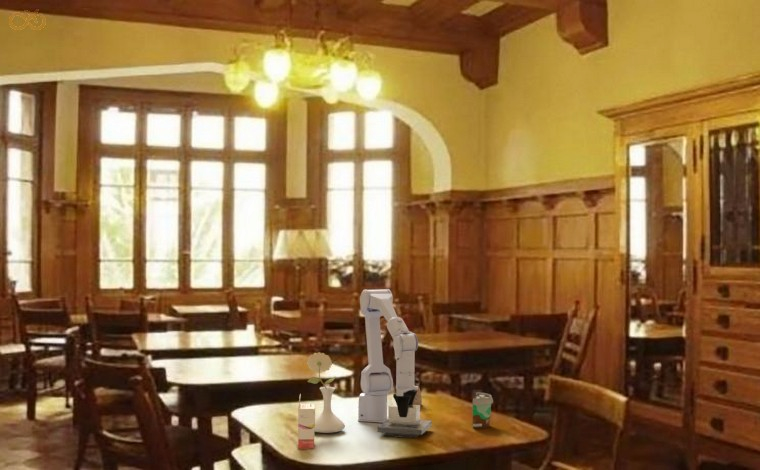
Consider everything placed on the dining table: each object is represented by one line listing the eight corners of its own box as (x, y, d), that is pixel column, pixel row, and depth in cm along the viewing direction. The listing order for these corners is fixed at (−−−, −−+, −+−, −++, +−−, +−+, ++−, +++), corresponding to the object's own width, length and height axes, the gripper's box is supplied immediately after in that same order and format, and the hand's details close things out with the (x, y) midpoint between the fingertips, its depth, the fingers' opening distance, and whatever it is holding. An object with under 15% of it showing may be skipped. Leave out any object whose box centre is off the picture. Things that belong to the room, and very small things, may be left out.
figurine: (401, 403, 316) (401, 370, 316) (420, 402, 317) (420, 370, 317) (403, 406, 309) (404, 373, 309) (423, 406, 310) (423, 373, 310)
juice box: (315, 449, 246) (315, 398, 246) (297, 449, 245) (298, 398, 245) (314, 442, 254) (315, 393, 254) (298, 442, 254) (298, 393, 254)
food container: (491, 430, 271) (491, 399, 271) (472, 429, 272) (472, 398, 272) (494, 422, 283) (494, 392, 283) (475, 421, 284) (476, 391, 284)
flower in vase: (350, 429, 272) (350, 351, 272) (337, 437, 261) (337, 355, 261) (313, 426, 276) (313, 349, 276) (298, 433, 265) (298, 353, 265)
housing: (416, 424, 263) (416, 405, 263) (387, 422, 265) (388, 404, 265) (420, 421, 268) (420, 402, 268) (392, 419, 270) (392, 401, 270)
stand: (377, 436, 261) (377, 427, 262) (389, 427, 275) (389, 417, 275) (421, 440, 258) (421, 430, 258) (431, 430, 271) (431, 420, 271)
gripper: (412, 376, 258) (412, 420, 258) (423, 369, 272) (422, 411, 272) (389, 375, 260) (389, 419, 260) (401, 368, 274) (401, 410, 274)
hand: (405, 415), depth 266 cm, fingers closed on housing, 5 cm apart
